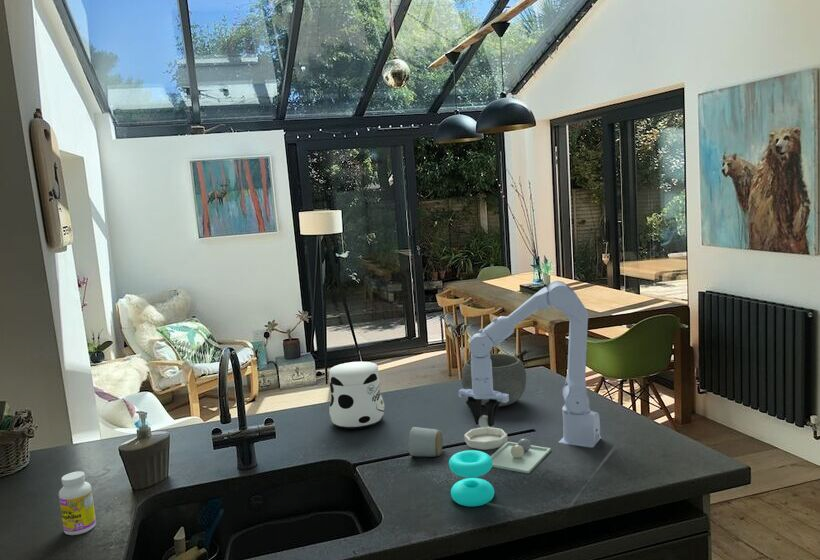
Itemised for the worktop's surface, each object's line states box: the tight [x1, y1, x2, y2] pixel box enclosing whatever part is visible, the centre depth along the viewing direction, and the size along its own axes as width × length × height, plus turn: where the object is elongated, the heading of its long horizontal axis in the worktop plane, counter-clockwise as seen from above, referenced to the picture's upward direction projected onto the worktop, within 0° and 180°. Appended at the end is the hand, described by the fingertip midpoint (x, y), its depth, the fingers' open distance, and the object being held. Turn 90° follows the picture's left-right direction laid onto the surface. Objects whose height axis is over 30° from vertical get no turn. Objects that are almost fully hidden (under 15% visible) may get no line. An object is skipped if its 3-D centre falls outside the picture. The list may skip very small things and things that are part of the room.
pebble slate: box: [517, 437, 532, 452], centre depth 170 cm, size 3×3×3 cm
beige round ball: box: [511, 445, 524, 458], centre depth 166 cm, size 3×3×3 cm
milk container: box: [328, 361, 385, 430], centre depth 202 cm, size 17×17×18 cm
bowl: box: [461, 353, 527, 407], centre depth 210 cm, size 21×21×15 cm
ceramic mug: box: [408, 426, 444, 458], centre depth 175 cm, size 11×8×8 cm
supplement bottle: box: [58, 470, 97, 536], centre depth 146 cm, size 7×7×13 cm
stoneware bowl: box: [463, 426, 509, 450], centre depth 179 cm, size 11×11×2 cm
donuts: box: [448, 449, 495, 507], centre depth 147 cm, size 10×10×10 cm
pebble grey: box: [478, 414, 490, 428], centre depth 178 cm, size 3×3×3 cm
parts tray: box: [489, 441, 552, 475], centre depth 166 cm, size 12×15×1 cm
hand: (484, 424), depth 178 cm, fingers closed on pebble grey, 3 cm apart
